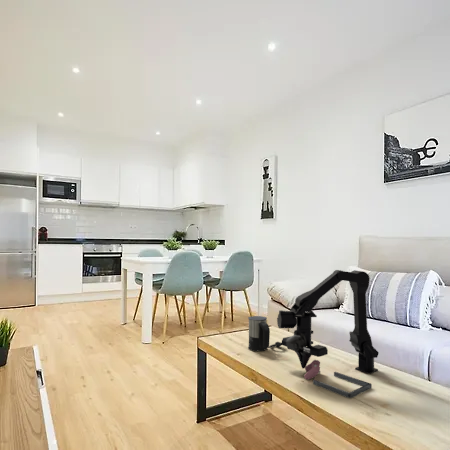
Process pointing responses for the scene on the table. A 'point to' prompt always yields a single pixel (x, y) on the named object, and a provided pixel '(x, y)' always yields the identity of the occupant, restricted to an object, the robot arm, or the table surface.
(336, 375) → the metal bay
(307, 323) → the robot arm
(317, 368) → the video game controller
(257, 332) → the milk frother
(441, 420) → the table surface
